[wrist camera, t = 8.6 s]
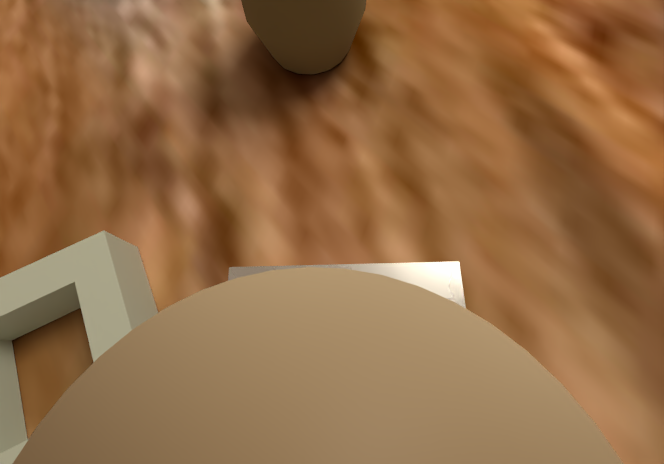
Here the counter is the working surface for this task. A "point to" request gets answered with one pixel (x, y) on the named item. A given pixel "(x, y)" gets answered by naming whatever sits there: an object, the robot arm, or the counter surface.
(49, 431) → the tan rounded peg
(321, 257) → the counter surface
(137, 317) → the collar
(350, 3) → the squeeze bottle
